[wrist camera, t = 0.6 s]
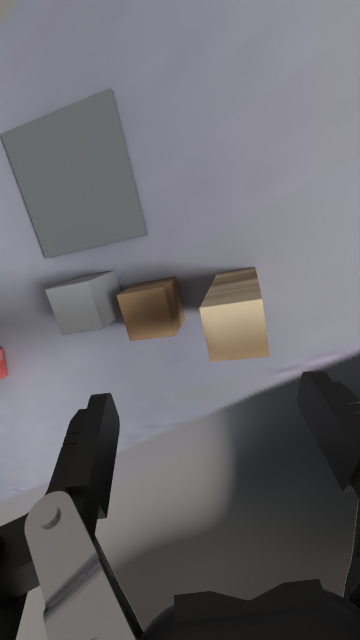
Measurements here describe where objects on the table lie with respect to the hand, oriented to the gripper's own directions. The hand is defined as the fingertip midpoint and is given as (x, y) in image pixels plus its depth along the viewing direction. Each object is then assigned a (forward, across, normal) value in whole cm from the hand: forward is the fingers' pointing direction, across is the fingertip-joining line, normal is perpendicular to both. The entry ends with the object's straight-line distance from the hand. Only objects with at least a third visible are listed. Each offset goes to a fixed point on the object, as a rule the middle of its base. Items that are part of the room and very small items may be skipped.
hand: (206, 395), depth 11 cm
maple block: (+18, -6, +4) cm, 19 cm away
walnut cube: (+20, +3, +6) cm, 21 cm away
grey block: (+22, +10, +5) cm, 25 cm away
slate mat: (+25, +10, -6) cm, 28 cm away
